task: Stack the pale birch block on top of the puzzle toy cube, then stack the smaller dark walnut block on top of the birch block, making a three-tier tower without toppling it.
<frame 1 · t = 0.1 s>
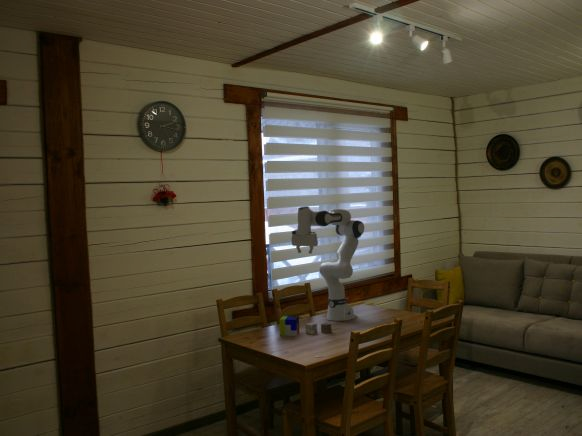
hand: (304, 253, 334), 48 cm above the table, tool pointing down, fingers open, 8 cm apart
puzzle toy: (289, 334, 319), on the table
block birch: (311, 332, 320), on the table
block walnut: (326, 332, 321), on the table
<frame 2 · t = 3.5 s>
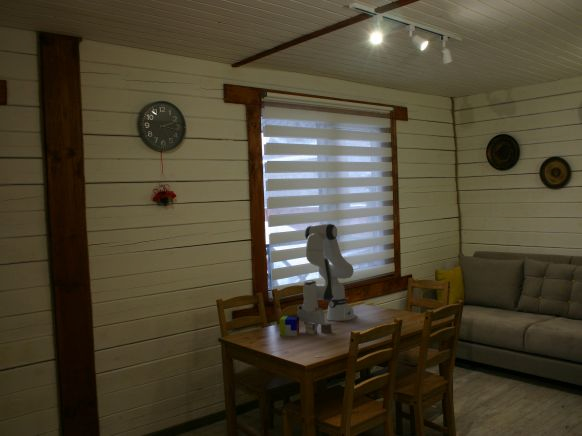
hand: (311, 329, 320), 2 cm above the table, tool pointing down, fingers closed on block birch, 5 cm apart
block birch: (311, 332, 320), on the table, touching gripper
everything else where it was.
when the fingers open (13 cm above the table, at t = 9.2 s): block birch drops 1 cm, resting on puzzle toy.
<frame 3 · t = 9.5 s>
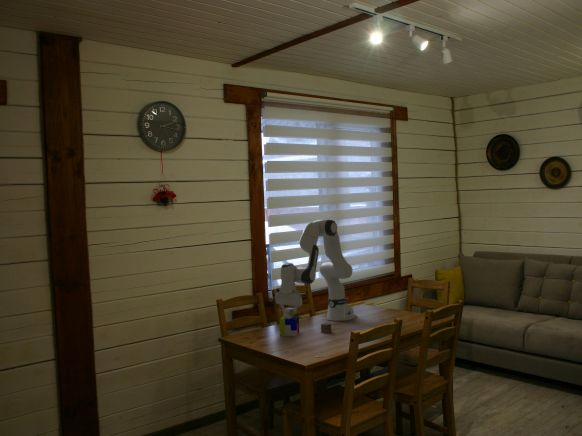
hand: (289, 312, 319), 13 cm above the table, tool pointing down, fingers open, 8 cm apart
puzzle toy: (289, 334, 319), on the table, touching block birch
block birch: (289, 317, 319), point 10 cm above the table, touching puzzle toy
everything else where it was.
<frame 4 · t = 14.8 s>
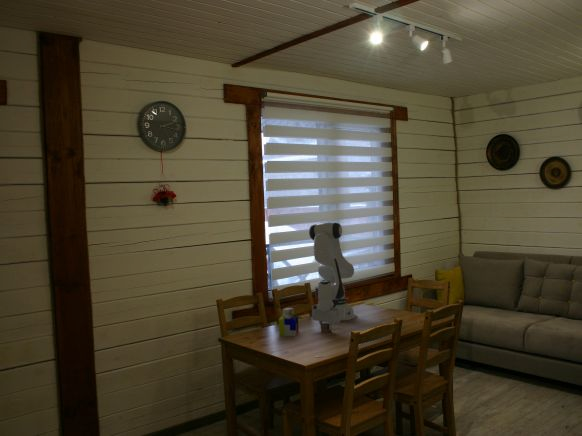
hand: (326, 329, 321), 2 cm above the table, tool pointing down, fingers closed on block walnut, 4 cm apart
block walnut: (326, 331, 321), on the table, touching gripper
everything else where it was.
when the fingers open (18 cm above the table, at t = 21.3 s): block walnut drops 1 cm, point 15 cm above the table.
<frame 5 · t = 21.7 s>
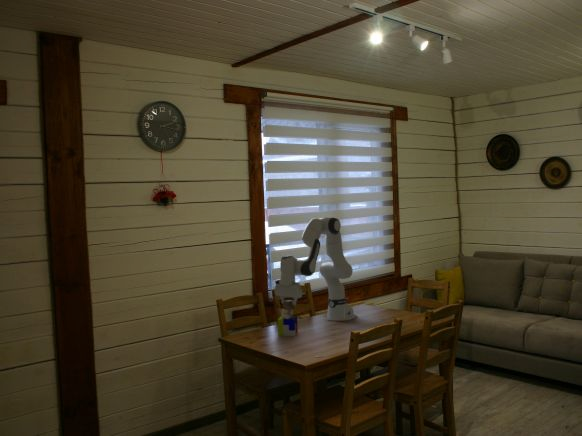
hand: (288, 304, 319), 18 cm above the table, tool pointing down, fingers open, 8 cm apart
block walnut: (288, 308, 319), point 15 cm above the table
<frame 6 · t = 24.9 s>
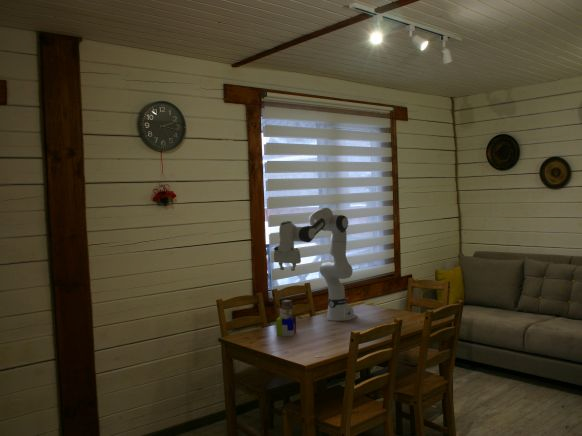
hand: (287, 270, 319), 39 cm above the table, tool pointing down, fingers open, 8 cm apart
block birch: (285, 317, 319), point 10 cm above the table, touching block walnut, puzzle toy
block walnut: (286, 308, 319), point 15 cm above the table, touching block birch
at the end: block birch inside the target area on the puzzle toy (0.2 cm from its centre), point 10.2 cm above the puzzle toy's base; block walnut 0.8 cm off-centre on the block birch, point 5.5 cm above the block birch's base; block walnut tilted 0° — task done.
